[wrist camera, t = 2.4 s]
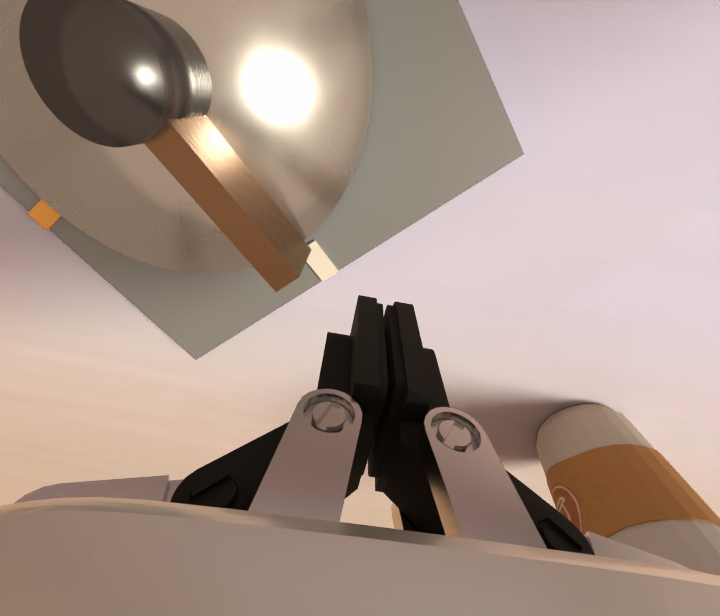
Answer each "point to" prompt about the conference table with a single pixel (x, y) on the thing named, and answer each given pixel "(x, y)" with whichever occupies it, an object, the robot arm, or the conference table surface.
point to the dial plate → (363, 193)
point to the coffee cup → (625, 488)
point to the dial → (188, 122)
